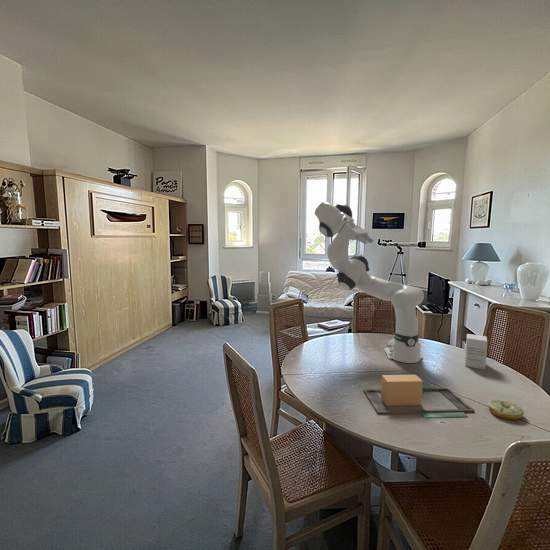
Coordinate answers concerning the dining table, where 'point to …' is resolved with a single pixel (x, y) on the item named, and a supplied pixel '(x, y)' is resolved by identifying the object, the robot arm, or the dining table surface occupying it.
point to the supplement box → (476, 351)
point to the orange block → (401, 390)
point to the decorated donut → (506, 409)
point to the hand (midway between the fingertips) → (369, 242)
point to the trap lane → (451, 396)
